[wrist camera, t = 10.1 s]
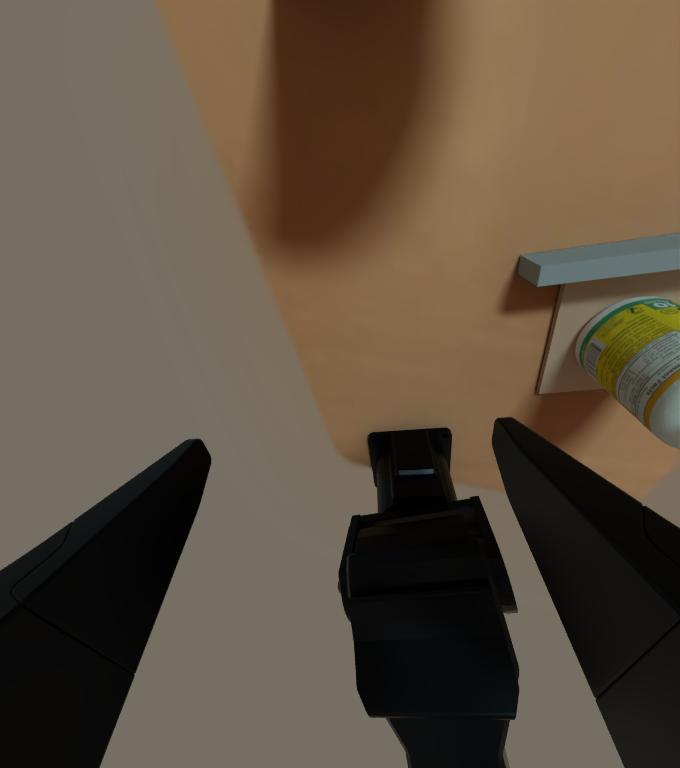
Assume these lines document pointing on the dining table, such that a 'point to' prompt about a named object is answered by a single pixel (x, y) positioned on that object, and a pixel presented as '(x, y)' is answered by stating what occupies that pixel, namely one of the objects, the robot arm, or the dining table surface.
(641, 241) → the low wall
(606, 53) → the dining table surface
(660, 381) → the supplement bottle
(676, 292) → the mat
